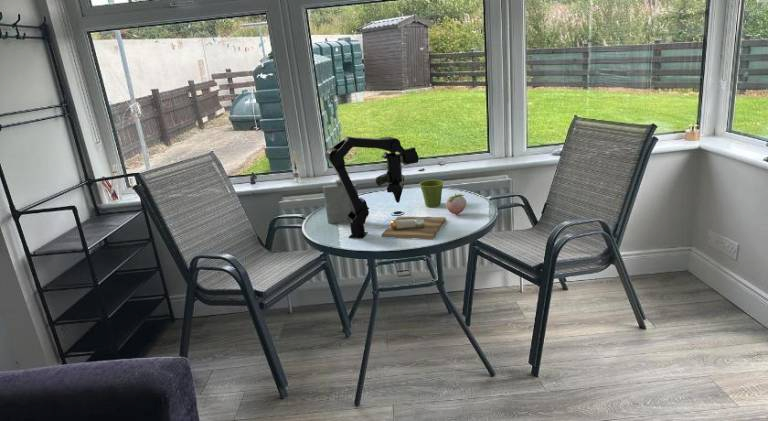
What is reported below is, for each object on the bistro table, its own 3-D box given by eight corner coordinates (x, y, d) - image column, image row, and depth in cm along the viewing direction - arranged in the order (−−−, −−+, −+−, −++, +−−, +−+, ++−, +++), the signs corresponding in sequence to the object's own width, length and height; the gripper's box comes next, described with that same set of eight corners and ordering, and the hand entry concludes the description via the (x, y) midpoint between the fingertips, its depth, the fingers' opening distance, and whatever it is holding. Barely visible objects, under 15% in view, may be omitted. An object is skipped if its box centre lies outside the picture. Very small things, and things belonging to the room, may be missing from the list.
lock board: (433, 239, 203) (432, 235, 203) (381, 237, 211) (381, 233, 211) (445, 220, 223) (445, 217, 222) (398, 219, 231) (397, 216, 230)
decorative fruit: (455, 210, 235) (454, 189, 232) (469, 213, 229) (468, 191, 226) (442, 216, 229) (441, 195, 226) (456, 219, 223) (455, 197, 220)
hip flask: (327, 223, 236) (321, 182, 229) (329, 220, 239) (323, 179, 233) (360, 222, 232) (355, 180, 226) (362, 219, 236) (357, 178, 230)
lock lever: (424, 224, 215) (424, 217, 214) (424, 227, 211) (423, 220, 211) (391, 226, 217) (391, 219, 216) (391, 229, 213) (390, 222, 212)
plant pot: (419, 209, 242) (417, 186, 238) (423, 202, 252) (421, 180, 249) (443, 209, 238) (442, 186, 235) (447, 201, 249) (445, 179, 246)
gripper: (377, 163, 224) (381, 197, 228) (372, 174, 206) (377, 210, 211) (402, 161, 222) (406, 195, 227) (400, 171, 205) (403, 208, 209)
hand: (397, 202), depth 219 cm, fingers closed
